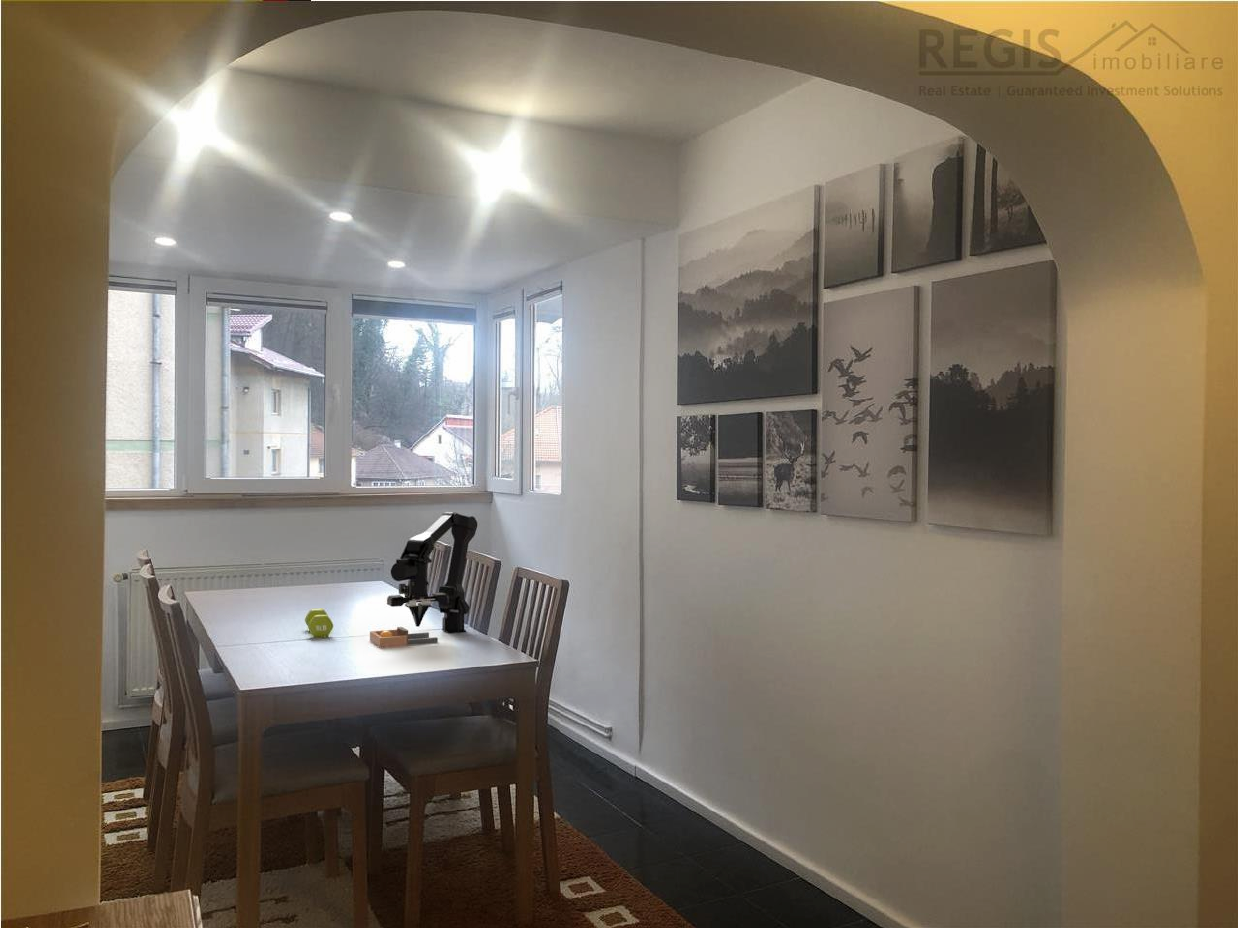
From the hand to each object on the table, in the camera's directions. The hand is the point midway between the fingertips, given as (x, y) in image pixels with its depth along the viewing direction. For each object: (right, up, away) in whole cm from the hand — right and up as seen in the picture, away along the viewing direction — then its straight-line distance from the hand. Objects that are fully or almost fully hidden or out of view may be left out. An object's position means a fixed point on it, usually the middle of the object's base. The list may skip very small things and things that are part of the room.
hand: (417, 626), depth 302 cm
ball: (-9, -3, -5) cm, 10 cm away
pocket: (-8, -5, -4) cm, 10 cm away
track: (0, -5, 0) cm, 5 cm away
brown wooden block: (-4, -5, -2) cm, 7 cm away
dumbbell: (-35, -4, +9) cm, 36 cm away
